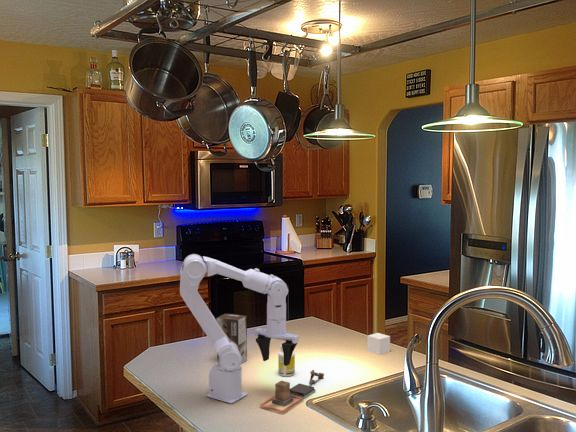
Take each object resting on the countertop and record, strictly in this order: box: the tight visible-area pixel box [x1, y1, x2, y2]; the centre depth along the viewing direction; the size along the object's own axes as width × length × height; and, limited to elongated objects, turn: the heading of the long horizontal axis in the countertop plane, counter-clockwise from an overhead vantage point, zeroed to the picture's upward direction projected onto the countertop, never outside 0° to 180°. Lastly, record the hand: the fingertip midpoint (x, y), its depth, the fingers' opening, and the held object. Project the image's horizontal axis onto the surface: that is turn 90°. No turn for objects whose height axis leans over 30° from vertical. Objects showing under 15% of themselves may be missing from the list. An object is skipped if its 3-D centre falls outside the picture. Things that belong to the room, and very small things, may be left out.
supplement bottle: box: [277, 343, 296, 377], centre depth 180 cm, size 5×5×10 cm
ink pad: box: [290, 383, 316, 400], centre depth 164 cm, size 6×7×2 cm
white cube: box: [366, 332, 391, 356], centre depth 204 cm, size 6×6×6 cm
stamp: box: [272, 380, 293, 407], centre depth 156 cm, size 4×4×6 cm
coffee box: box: [216, 313, 248, 365], centre depth 192 cm, size 9×6×16 cm
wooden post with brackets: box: [308, 369, 325, 386], centre depth 173 cm, size 2×8×4 cm, turn 150°
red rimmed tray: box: [259, 395, 304, 415], centre depth 156 cm, size 8×11×1 cm
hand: (276, 362), depth 164 cm, fingers open, 7 cm apart
